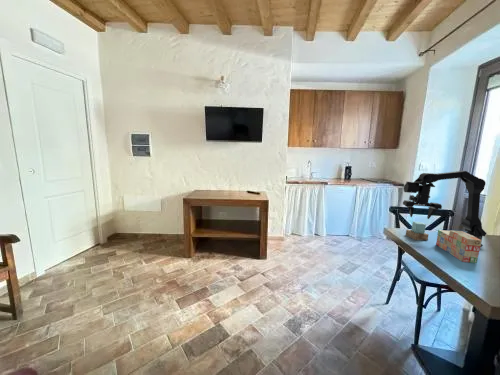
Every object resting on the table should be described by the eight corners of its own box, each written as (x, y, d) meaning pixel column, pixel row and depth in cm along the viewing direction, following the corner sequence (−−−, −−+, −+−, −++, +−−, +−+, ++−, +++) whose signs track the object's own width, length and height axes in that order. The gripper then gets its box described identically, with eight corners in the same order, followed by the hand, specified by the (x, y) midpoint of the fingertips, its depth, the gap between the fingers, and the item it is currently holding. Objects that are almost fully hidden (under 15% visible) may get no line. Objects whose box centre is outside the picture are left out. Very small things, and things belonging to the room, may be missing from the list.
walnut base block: (417, 235, 143) (418, 229, 142) (427, 240, 135) (428, 234, 134) (405, 235, 142) (406, 229, 142) (415, 240, 134) (416, 234, 134)
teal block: (420, 231, 140) (421, 222, 139) (424, 233, 135) (425, 224, 134) (411, 230, 141) (412, 221, 140) (415, 232, 136) (416, 223, 135)
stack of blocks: (435, 244, 128) (439, 224, 126) (447, 245, 127) (451, 225, 125) (462, 262, 108) (467, 238, 106) (477, 263, 106) (482, 239, 104)
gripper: (434, 192, 139) (429, 216, 142) (401, 190, 144) (397, 213, 147) (444, 195, 129) (439, 221, 131) (408, 193, 133) (404, 217, 136)
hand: (419, 217), depth 137 cm, fingers open, 9 cm apart
